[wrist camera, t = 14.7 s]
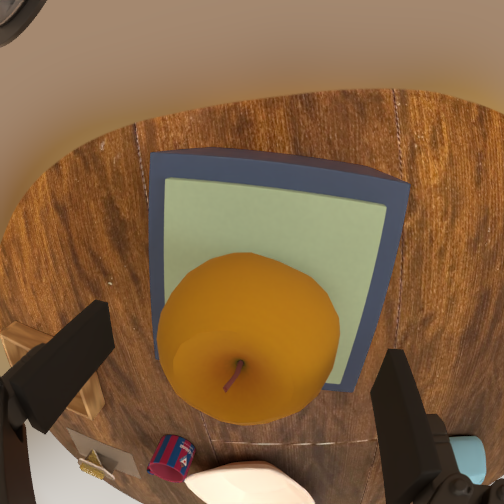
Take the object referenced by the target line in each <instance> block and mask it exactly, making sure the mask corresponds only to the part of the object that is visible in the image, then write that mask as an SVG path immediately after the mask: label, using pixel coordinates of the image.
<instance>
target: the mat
mask: <svg viewBox="0 0 504 504" xmlns="http://www.w3.org/2000/svg"><path fill="white" fill-rule="evenodd" d="M386 209H387V207H386V206H385V205H384V204H379V203H373V202H368V201H362V200H356V199H350V198H343V197H337V196H331V195H324V194H317V193H310V192H303V191H296V190H288V189H281V188H273V187H265V186H256V185H247V184H238V183H229V182H219V181H208V180H197V179H185V178H173V177H170V178H167V179H165V200H164V291H165V304H166V302H167V300H168V298H169V297H170V295H171V293H172V292H173V290H174V289H175V288H176V287H177V285H178V284H179V283H180V282H181V281H182V279H183V278H184V277H185V276H186V275H187V273H189V272H190V271H192V270H193V269H195V268H197V267H198V266H200V265H201V264H203V263H204V262H206V261H208V260H209V259H212V258H215V257H219V256H223V255H227V254H230V253H241V252H252V253H255V254H258V255H261V256H264V257H267V258H271V259H274V260H277V261H279V262H282V263H284V264H286V265H288V266H290V267H292V268H294V269H296V270H299V271H301V272H303V273H305V274H307V275H309V276H310V277H312V278H313V279H314V280H315V281H316V282H317V283H318V284H319V285H320V286H321V287H322V288H323V289H324V290H325V291H326V292H327V293H328V296H329V298H330V300H331V302H332V304H333V306H334V309H335V311H336V312H337V314H338V316H339V323H340V338H339V344H338V349H337V353H336V357H335V362H334V366H333V369H332V371H331V373H330V375H329V377H328V379H327V380H326V382H325V383H333V384H340V383H341V380H342V377H343V374H344V371H345V368H346V365H347V362H348V359H349V356H350V353H351V350H352V347H353V343H354V340H355V337H356V334H357V330H358V327H359V323H360V320H361V317H362V313H363V309H364V306H365V302H366V298H367V295H368V291H369V287H370V283H371V279H372V275H373V271H374V266H375V262H376V258H377V253H378V249H379V244H380V240H381V235H382V230H383V225H384V220H385V215H386Z"/></svg>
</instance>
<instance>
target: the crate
mask: <svg viewBox="0 0 504 504" xmlns="http://www.w3.org/2000/svg"><path fill="white" fill-rule="evenodd" d="M170 177H173V178H185V179H197V180H208V181H219V182H229V183H238V184H247V185H256V186H265V187H273V188H281V189H288V190H296V191H303V192H310V193H317V194H324V195H331V196H337V197H343V198H350V199H356V200H362V201H368V202H373V203H379V204H384V205H385V206H386V207H387V209H386V215H385V220H384V225H383V230H382V235H381V240H380V244H379V249H378V253H377V258H376V262H375V266H374V271H373V275H372V279H371V283H370V287H369V291H368V295H367V298H366V302H365V306H364V309H363V313H362V317H361V320H360V323H359V327H358V330H357V334H356V337H355V340H354V343H353V347H352V350H351V353H350V356H349V359H348V362H347V365H346V368H345V371H344V374H343V377H342V380H341V383H340V384H333V383H325V384H324V386H323V387H322V389H321V390H330V391H340V392H353V391H354V388H355V386H356V383H357V381H358V378H359V375H360V373H361V370H362V367H363V364H364V362H365V359H366V356H367V353H368V350H369V347H370V344H371V341H372V338H373V335H374V332H375V329H376V326H377V323H378V320H379V317H380V313H381V310H382V307H383V303H384V300H385V296H386V293H387V289H388V286H389V282H390V278H391V274H392V270H393V266H394V262H395V258H396V254H397V250H398V246H399V241H400V237H401V232H402V228H403V223H404V218H405V213H406V208H407V202H408V197H409V191H410V184H409V183H407V182H405V181H402V180H400V179H398V178H395V177H393V176H390V175H388V174H385V173H383V172H380V171H378V170H375V169H373V168H370V167H368V166H363V165H357V164H351V163H345V162H339V161H333V160H326V159H320V158H313V157H305V156H298V155H290V154H282V153H273V152H264V151H254V150H243V149H231V148H218V147H205V148H192V149H180V150H170V151H160V152H152V153H150V173H149V273H150V295H151V312H152V326H153V339H154V350H155V359H157V360H159V353H158V346H157V331H158V324H159V319H160V314H161V311H162V310H163V308H164V306H165V291H164V200H165V179H167V178H170Z"/></svg>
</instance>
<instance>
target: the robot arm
mask: <svg viewBox="0 0 504 504" xmlns="http://www.w3.org/2000/svg"><path fill="white" fill-rule="evenodd" d="M27 1H28V0H0V27H3V26H4V25H6V24H7V23H9V22H10V21H11V20H12V19H13V18H14V17H15V16H16V15H17V14H18V13H19V12H20V11H21V9H22V8H23V7H24V5H25V4H26V3H27ZM114 348H115V345H114V339H113V333H112V327H111V321H110V314H109V307H108V303H107V302H103V301H99V300H96V299H95V300H94V301H93V302H92V303H91V304H90V305H89V306H87V307H86V308H85V309H84V310H83V311H82V312H81V313H79V314H78V315H77V316H76V317H75V318H74V319H73V320H72V321H70V322H69V323H68V324H67V325H66V326H65V327H64V328H63V329H62V330H61V331H59V332H58V333H57V334H56V335H55V336H54V337H53V338H52V339H51V340H50V341H49V342H47V343H46V344H45V343H41V344H39V345H37V346H35V347H33V348H32V349H31V350H30V351H28V352H27V353H26V355H24V356H23V357H22V358H21V360H19V361H18V362H17V363H16V364H15V365H13V366H12V367H11V368H10V369H9V370H8V371H7V372H6V373H5V374H4V375H3V376H2V377H0V504H36V501H35V495H34V490H33V484H32V478H31V472H30V464H29V456H28V448H27V447H28V446H27V435H26V427H25V424H24V422H25V421H26V419H27V418H28V420H29V422H30V424H31V425H32V427H33V428H35V429H37V430H38V431H40V432H42V433H44V434H46V433H47V432H48V431H49V429H50V428H51V427H52V425H53V424H54V423H55V421H56V420H57V419H58V418H59V416H60V415H61V414H62V412H63V411H64V410H65V409H66V407H67V406H68V405H69V404H70V402H71V401H72V400H73V398H74V397H75V396H76V395H77V393H78V392H79V391H80V390H81V388H82V387H83V386H84V385H85V383H86V382H87V381H88V380H89V379H90V377H91V376H92V375H93V374H94V372H95V371H96V370H97V369H98V367H99V366H100V365H101V364H102V363H103V361H104V360H105V359H106V358H107V357H108V355H109V354H110V353H111V352H112V350H113V349H114ZM370 394H371V400H372V405H373V411H374V417H375V423H376V429H377V435H378V442H379V449H380V456H381V463H382V471H383V479H384V488H385V497H386V504H410V503H411V502H412V501H413V504H504V479H502V478H501V479H498V480H496V481H495V482H494V483H493V484H492V485H491V486H487V485H479V484H473V483H472V481H471V479H470V478H469V477H468V476H466V475H465V474H462V473H460V471H459V468H458V465H457V461H456V458H455V455H454V451H453V448H452V445H451V443H450V439H449V436H448V435H447V430H446V427H445V424H444V422H443V421H442V420H441V419H440V417H439V416H438V415H437V414H426V413H425V409H424V406H423V403H422V400H421V397H420V394H419V391H418V389H417V386H416V383H415V380H414V377H413V374H412V372H411V369H410V366H409V364H408V361H407V358H406V356H405V353H404V350H401V349H388V350H387V353H386V355H385V358H384V360H383V363H382V365H381V368H380V370H379V373H378V375H377V378H376V380H375V382H374V385H373V387H372V389H371V392H370Z"/></svg>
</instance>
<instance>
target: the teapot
mask: <svg viewBox="0 0 504 504" xmlns="http://www.w3.org/2000/svg"><path fill="white" fill-rule="evenodd" d="M449 439H450V443H451V445H452V448H453V451H454V455H455V458H456V461H457V465H458V468H459V471H460V473H462V474H465V475H466V476H468V477H469V478H470V479H471V481H472V483H473V484H479V485H481V484H482V482H483V481H484V478H485V475H486V457H485V451H484V447H483V444H482V442H481V440H480V439H479V438H477V437H476V436H459V437H449Z"/></svg>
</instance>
